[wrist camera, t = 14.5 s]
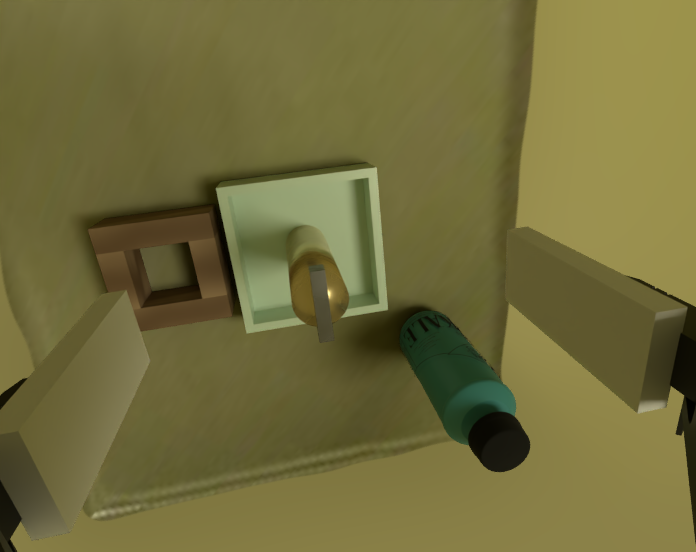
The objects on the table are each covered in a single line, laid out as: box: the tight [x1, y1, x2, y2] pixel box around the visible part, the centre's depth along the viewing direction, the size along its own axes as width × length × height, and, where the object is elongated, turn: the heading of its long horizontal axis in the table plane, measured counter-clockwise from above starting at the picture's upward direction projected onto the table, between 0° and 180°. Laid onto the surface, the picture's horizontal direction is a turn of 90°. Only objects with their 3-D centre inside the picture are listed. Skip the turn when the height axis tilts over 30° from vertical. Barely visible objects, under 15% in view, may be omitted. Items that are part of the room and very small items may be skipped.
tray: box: [216, 163, 388, 333], centre depth 43 cm, size 14×14×4 cm
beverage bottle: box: [399, 311, 530, 472], centre depth 41 cm, size 6×7×20 cm
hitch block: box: [88, 204, 235, 331], centre depth 41 cm, size 10×10×4 cm
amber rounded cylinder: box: [286, 225, 349, 343], centre depth 36 cm, size 5×4×15 cm
